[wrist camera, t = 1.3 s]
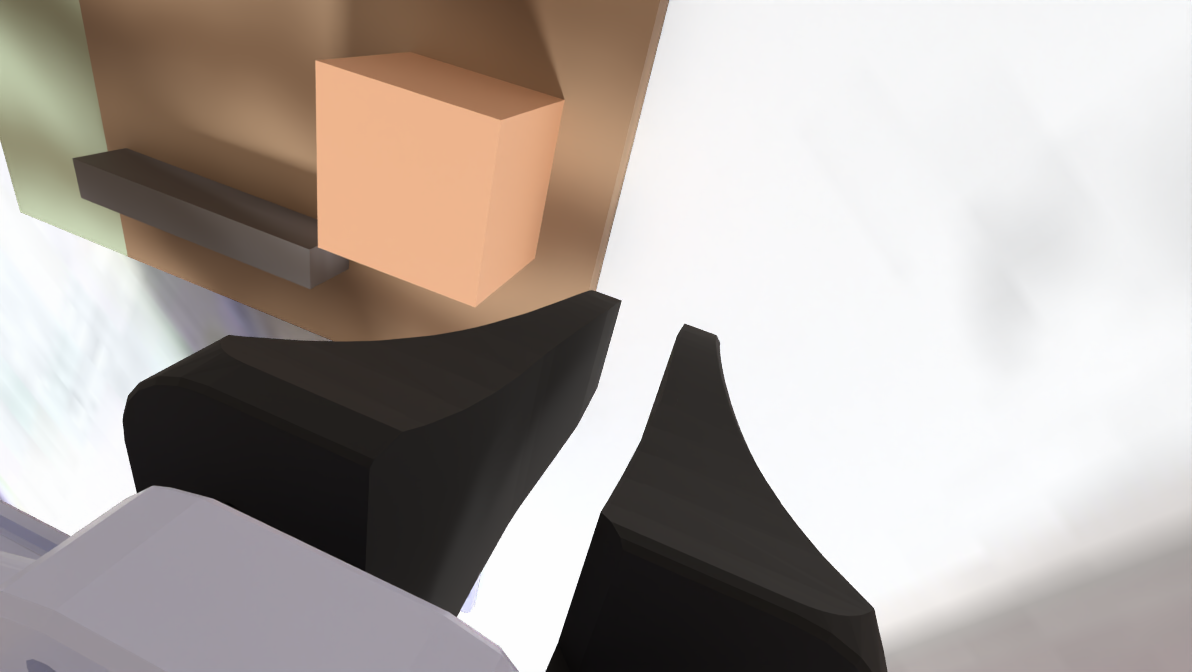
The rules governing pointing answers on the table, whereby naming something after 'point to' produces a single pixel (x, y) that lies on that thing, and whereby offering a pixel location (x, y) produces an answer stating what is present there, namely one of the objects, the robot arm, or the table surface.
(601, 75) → the board
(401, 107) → the terracotta block
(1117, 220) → the table surface
